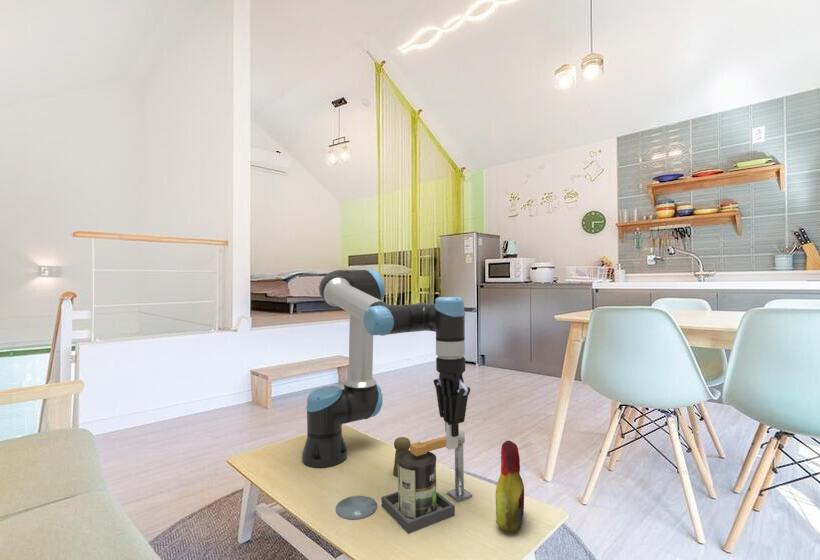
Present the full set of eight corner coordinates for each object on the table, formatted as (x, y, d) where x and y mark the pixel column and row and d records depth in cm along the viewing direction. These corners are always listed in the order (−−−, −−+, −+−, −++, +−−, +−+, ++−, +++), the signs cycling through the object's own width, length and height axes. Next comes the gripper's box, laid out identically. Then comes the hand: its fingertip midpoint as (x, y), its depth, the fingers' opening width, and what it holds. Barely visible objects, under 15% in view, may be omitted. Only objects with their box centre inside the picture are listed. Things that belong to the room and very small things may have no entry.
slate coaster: (329, 503, 110) (329, 502, 110) (366, 492, 116) (366, 491, 116) (344, 524, 101) (344, 523, 101) (384, 511, 106) (384, 510, 106)
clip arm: (410, 451, 107) (409, 442, 107) (459, 438, 116) (459, 429, 116) (416, 456, 104) (416, 446, 104) (467, 442, 113) (466, 432, 113)
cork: (394, 478, 124) (393, 443, 124) (391, 469, 130) (391, 435, 130) (413, 477, 125) (413, 441, 125) (410, 468, 131) (410, 434, 131)
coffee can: (438, 501, 110) (438, 450, 111) (434, 524, 100) (433, 467, 100) (402, 498, 112) (401, 448, 112) (394, 520, 102) (393, 464, 102)
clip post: (447, 494, 114) (446, 441, 114) (461, 489, 117) (460, 438, 117) (458, 502, 110) (457, 448, 110) (472, 497, 113) (471, 444, 113)
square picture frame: (381, 506, 109) (381, 496, 109) (425, 491, 116) (425, 482, 116) (408, 533, 97) (407, 523, 97) (454, 515, 104) (454, 505, 104)
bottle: (506, 507, 107) (505, 432, 107) (530, 514, 104) (529, 436, 104) (490, 532, 97) (489, 448, 97) (517, 540, 94) (516, 454, 94)
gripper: (478, 358, 101) (480, 453, 101) (447, 351, 112) (448, 436, 112) (454, 362, 97) (456, 460, 97) (424, 354, 109) (426, 442, 108)
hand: (452, 447), depth 105 cm, fingers closed
